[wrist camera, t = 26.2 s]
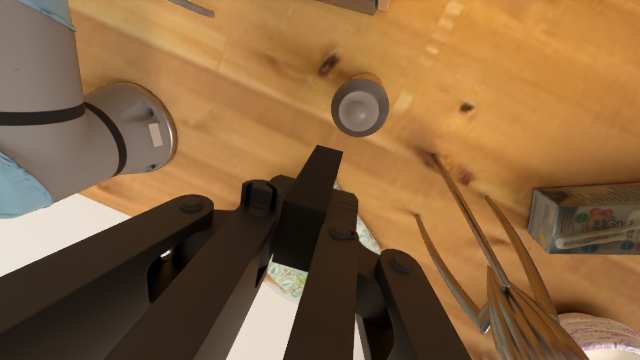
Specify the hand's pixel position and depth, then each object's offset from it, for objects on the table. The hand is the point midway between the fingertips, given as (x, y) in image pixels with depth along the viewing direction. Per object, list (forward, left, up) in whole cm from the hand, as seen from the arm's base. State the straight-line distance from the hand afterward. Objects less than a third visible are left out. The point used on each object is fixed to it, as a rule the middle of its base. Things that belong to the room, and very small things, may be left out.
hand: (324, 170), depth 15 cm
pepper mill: (+1, +2, -26) cm, 26 cm away
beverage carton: (+38, -4, -26) cm, 46 cm away
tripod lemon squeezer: (+17, -10, -26) cm, 33 cm away
